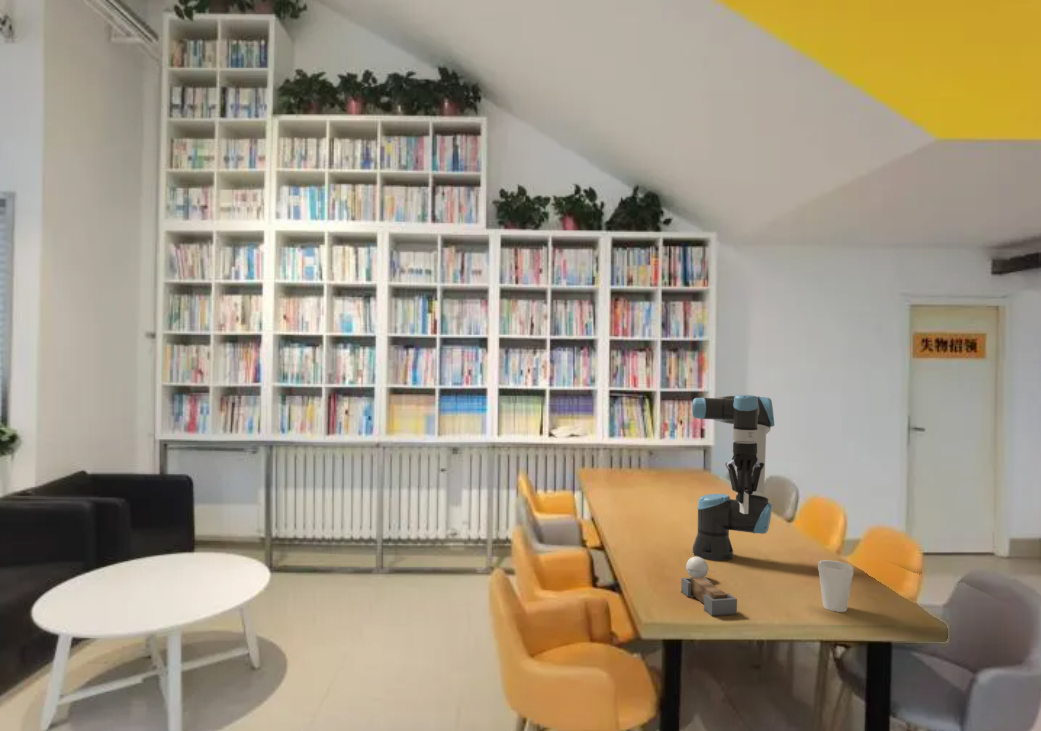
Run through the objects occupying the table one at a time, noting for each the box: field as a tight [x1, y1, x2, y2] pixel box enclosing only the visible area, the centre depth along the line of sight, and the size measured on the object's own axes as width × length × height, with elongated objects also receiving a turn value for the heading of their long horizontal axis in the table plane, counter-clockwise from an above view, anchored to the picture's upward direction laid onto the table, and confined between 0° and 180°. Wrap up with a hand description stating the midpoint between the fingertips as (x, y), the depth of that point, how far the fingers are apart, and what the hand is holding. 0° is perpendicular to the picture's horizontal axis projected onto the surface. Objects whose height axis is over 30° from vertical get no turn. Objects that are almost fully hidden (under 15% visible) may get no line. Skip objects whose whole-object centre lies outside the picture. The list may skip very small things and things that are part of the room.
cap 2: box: [703, 593, 738, 617], centre depth 175 cm, size 4×8×4 cm, turn 102°
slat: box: [690, 576, 728, 604], centre depth 182 cm, size 15×4×5 cm, turn 11°
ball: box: [685, 556, 715, 578], centre depth 203 cm, size 10×7×7 cm
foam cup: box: [817, 559, 854, 613], centre depth 181 cm, size 10×9×13 cm
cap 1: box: [680, 576, 712, 598], centre depth 190 cm, size 4×8×4 cm, turn 102°
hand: (744, 512), depth 197 cm, fingers closed
